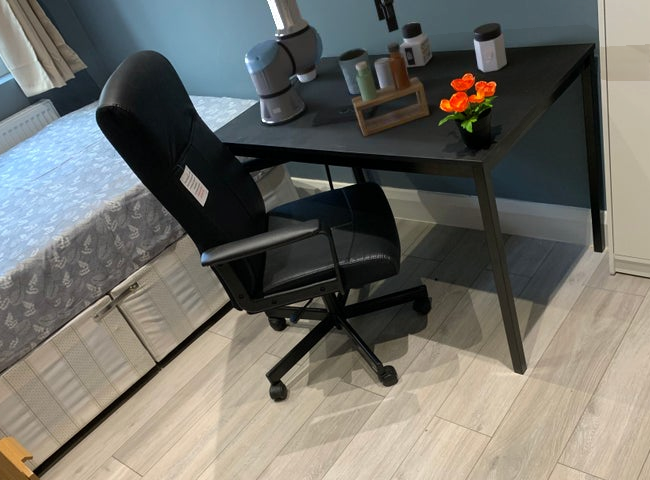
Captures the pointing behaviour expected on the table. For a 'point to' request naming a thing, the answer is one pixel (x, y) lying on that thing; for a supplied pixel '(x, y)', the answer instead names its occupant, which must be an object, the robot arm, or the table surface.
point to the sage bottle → (365, 82)
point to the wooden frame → (396, 116)
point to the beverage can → (384, 72)
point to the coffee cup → (307, 74)
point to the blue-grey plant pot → (353, 67)
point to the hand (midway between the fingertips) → (388, 24)
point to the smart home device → (340, 114)
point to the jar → (489, 47)
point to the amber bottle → (398, 67)
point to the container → (415, 45)
